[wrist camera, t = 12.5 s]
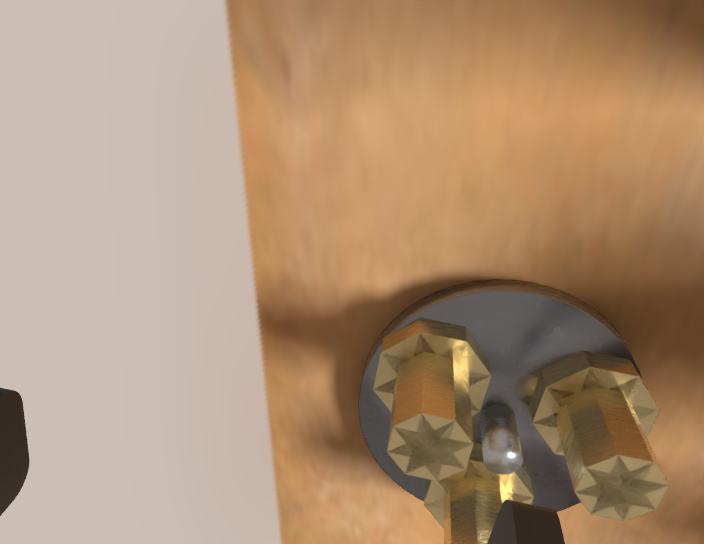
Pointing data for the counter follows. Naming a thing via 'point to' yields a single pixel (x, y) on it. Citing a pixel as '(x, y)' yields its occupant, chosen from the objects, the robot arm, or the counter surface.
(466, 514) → the flanged sleeve
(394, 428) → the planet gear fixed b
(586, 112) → the counter surface
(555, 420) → the fixed planet gear
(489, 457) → the carrier
